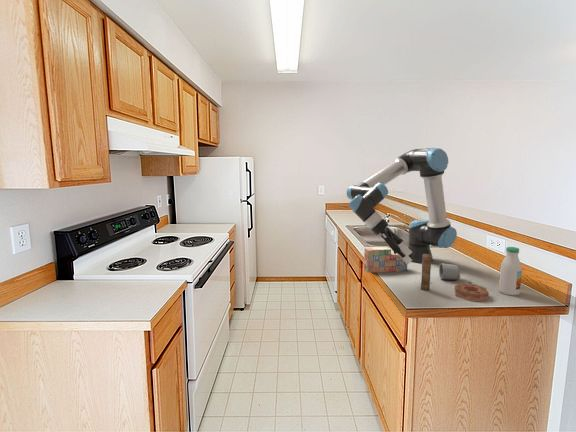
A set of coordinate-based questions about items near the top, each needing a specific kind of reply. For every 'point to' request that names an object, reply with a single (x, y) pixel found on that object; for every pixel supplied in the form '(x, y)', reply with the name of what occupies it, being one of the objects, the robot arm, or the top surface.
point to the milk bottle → (510, 273)
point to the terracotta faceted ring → (471, 292)
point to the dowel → (426, 272)
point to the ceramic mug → (449, 271)
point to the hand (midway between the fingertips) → (410, 258)
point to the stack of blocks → (383, 260)
